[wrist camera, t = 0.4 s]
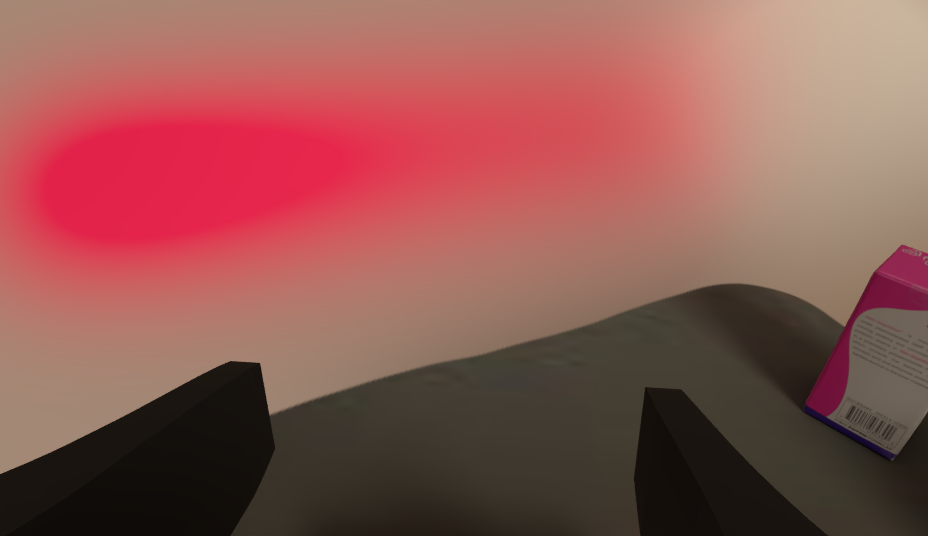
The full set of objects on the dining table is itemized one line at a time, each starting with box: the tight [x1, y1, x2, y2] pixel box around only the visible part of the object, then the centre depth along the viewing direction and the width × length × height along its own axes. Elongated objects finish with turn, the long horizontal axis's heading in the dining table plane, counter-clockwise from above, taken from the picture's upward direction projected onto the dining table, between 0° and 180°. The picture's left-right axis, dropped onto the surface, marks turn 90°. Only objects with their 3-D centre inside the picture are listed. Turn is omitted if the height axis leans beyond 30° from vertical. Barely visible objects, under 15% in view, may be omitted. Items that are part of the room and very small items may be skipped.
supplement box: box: [803, 245, 928, 461], centre depth 37 cm, size 6×6×12 cm
